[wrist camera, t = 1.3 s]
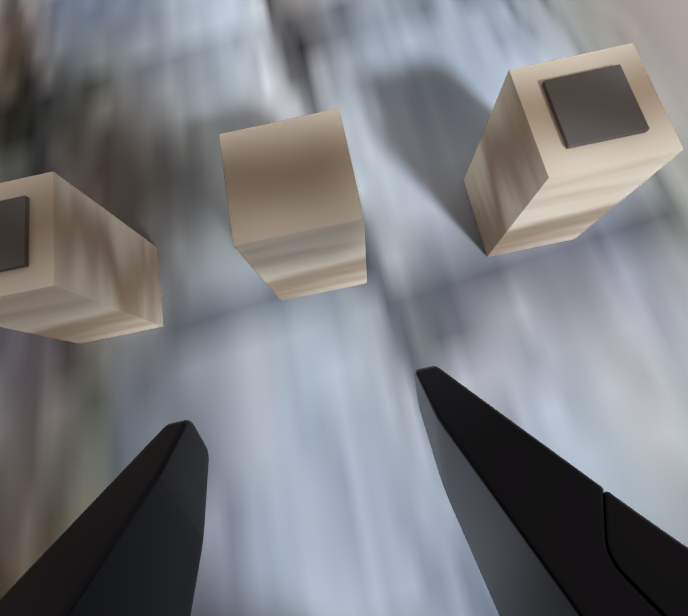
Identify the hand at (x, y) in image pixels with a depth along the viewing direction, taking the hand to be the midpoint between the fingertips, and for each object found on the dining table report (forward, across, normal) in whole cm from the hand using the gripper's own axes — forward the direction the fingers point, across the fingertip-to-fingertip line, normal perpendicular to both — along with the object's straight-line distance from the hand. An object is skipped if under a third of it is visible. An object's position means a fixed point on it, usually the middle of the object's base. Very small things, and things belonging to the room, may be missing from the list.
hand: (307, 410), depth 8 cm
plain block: (+16, 0, +3) cm, 16 cm away
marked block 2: (+16, +12, +3) cm, 20 cm away
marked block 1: (+16, -12, +3) cm, 20 cm away
